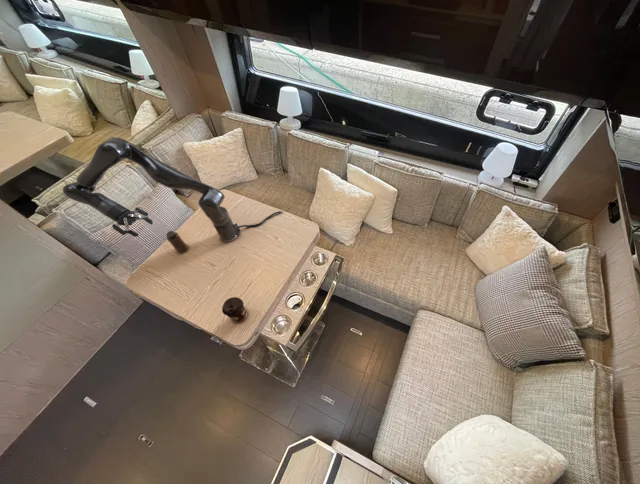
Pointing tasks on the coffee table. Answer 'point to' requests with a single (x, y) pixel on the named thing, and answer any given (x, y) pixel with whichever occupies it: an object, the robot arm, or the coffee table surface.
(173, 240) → the pepper mill
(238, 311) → the dark brown cylinder
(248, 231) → the coffee table surface
